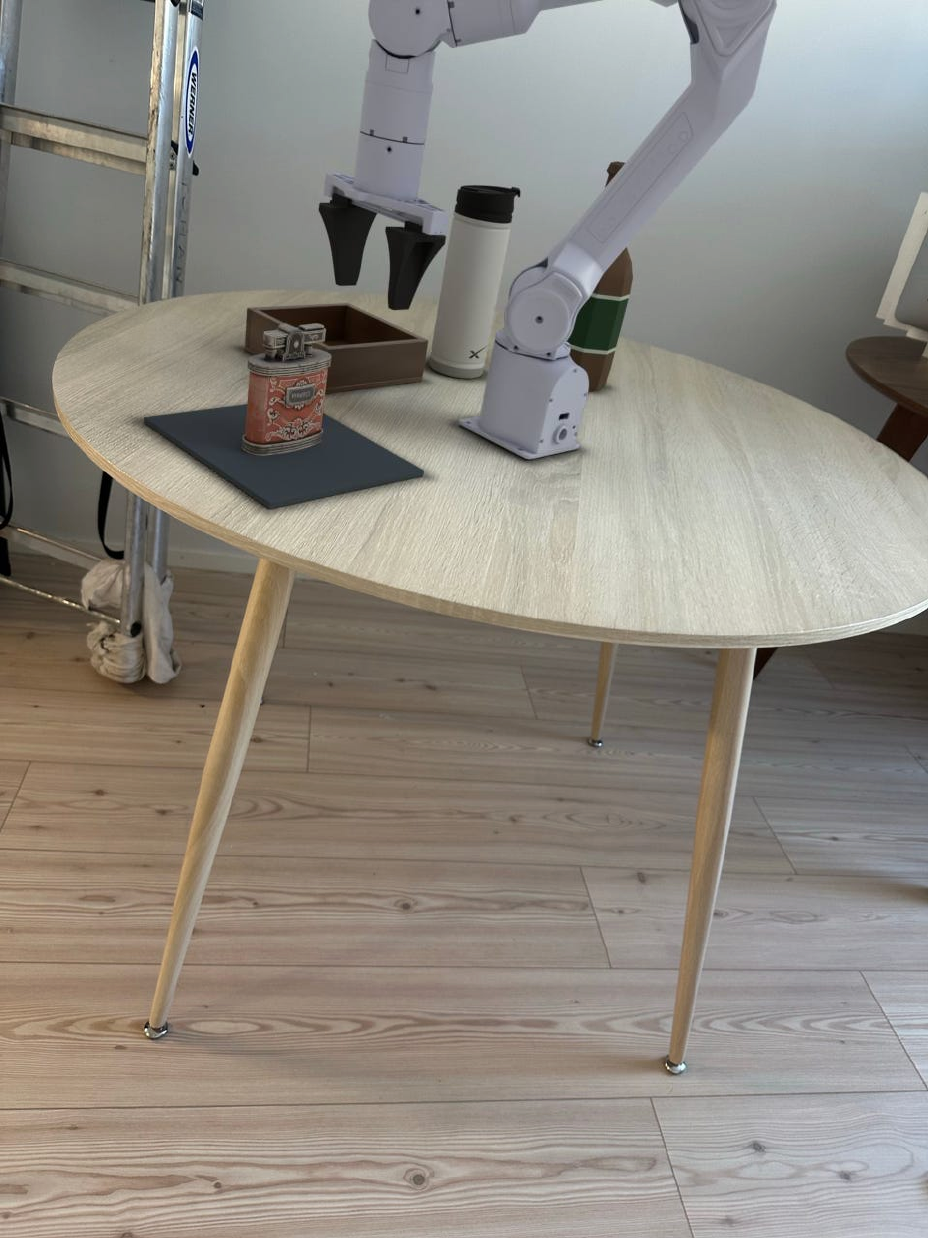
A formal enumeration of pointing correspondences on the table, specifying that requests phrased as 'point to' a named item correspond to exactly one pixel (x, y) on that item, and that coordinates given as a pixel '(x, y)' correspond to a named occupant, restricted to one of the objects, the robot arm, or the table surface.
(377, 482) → the mat
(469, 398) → the table surface
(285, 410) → the lighter
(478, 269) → the travel mug
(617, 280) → the beer bottle
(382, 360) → the brown wooden tray
